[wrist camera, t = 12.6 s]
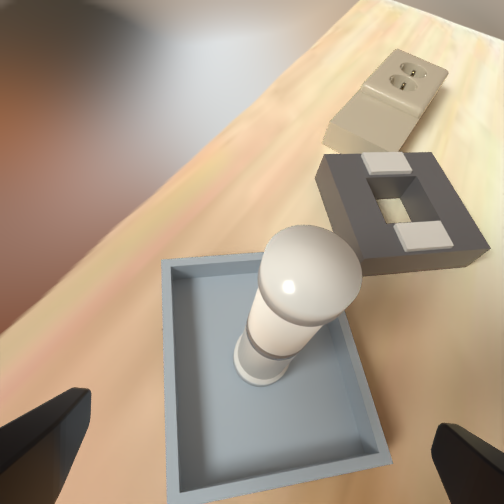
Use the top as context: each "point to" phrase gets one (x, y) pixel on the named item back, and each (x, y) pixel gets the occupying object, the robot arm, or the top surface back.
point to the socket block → (415, 202)
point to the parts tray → (254, 393)
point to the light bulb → (294, 299)
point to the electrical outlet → (385, 106)
